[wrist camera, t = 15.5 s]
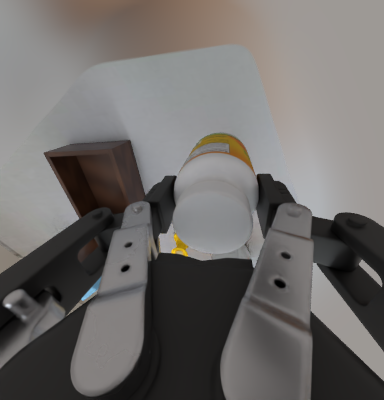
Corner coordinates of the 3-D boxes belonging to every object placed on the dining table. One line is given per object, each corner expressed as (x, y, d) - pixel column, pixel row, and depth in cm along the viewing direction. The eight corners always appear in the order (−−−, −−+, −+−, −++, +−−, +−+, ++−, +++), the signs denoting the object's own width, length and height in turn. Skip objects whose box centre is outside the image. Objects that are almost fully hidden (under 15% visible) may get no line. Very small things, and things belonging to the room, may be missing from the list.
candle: (198, 240, 43) (186, 303, 30) (182, 247, 45) (165, 308, 32) (185, 226, 41) (167, 287, 28) (170, 234, 44) (147, 293, 31)
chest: (70, 144, 35) (43, 152, 30) (130, 140, 32) (111, 148, 27) (101, 213, 44) (85, 229, 39) (150, 214, 41) (139, 231, 36)
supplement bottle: (249, 182, 17) (269, 263, 9) (197, 188, 18) (174, 263, 10) (245, 125, 14) (271, 168, 6) (185, 137, 16) (142, 185, 8)
